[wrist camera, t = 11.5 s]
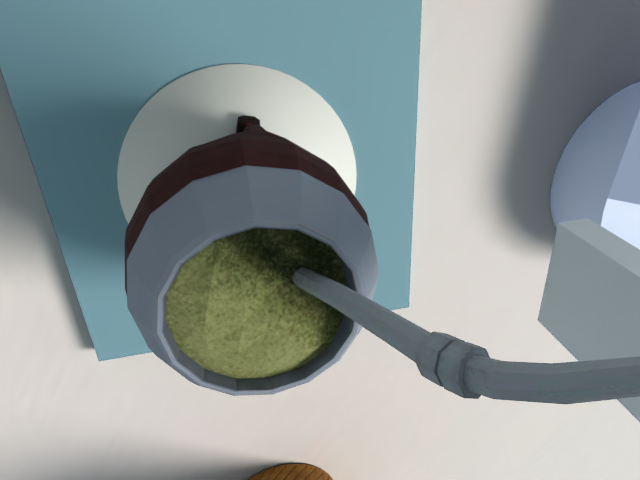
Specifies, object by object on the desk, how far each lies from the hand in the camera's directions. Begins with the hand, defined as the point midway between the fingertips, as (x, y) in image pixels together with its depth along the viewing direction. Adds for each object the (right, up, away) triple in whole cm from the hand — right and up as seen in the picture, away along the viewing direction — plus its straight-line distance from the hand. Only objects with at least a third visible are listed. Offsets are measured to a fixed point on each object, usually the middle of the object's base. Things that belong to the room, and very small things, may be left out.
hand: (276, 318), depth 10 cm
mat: (-2, +4, +9) cm, 10 cm away
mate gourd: (-2, +4, +8) cm, 9 cm away
